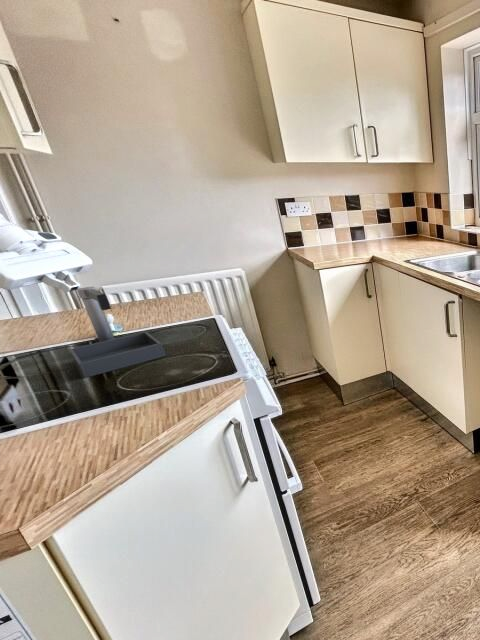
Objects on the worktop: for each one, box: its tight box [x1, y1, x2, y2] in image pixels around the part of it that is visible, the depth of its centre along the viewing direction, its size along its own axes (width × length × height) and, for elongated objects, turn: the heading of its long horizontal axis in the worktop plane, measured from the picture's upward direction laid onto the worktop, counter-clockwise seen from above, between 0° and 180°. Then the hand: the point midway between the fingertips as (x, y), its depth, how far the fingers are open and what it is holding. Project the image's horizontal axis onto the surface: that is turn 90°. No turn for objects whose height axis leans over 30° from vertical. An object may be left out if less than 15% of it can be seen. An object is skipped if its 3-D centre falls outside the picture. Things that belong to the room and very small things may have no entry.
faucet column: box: [81, 298, 116, 342], centre depth 110 cm, size 6×6×14 cm
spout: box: [76, 286, 112, 311], centre depth 105 cm, size 3×13×4 cm, turn 57°
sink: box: [68, 331, 167, 379], centre depth 105 cm, size 15×14×4 cm
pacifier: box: [94, 313, 123, 339], centre depth 120 cm, size 7×6×6 cm
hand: (74, 289), depth 100 cm, fingers closed
